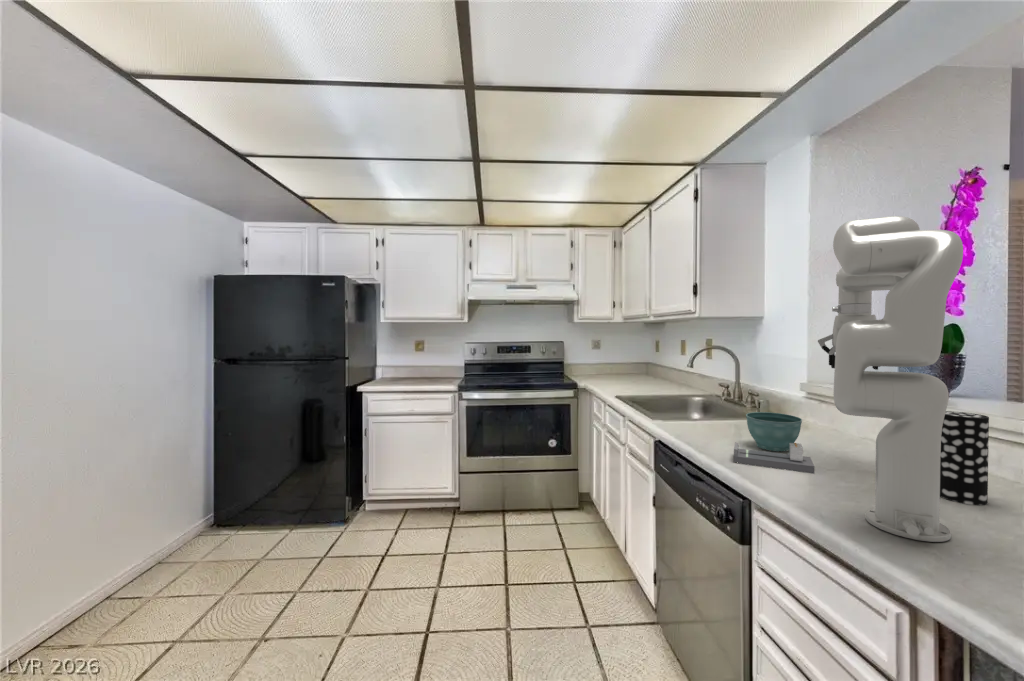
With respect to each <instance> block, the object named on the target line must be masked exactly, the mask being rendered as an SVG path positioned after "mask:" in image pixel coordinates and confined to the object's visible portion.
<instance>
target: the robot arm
mask: <svg viewBox="0 0 1024 681" xmlns="http://www.w3.org/2000/svg"><path fill="white" fill-rule="evenodd" d="M832 244H833V245H832V246H833V253H834V255H835V258H836V259H837V261H838V263H839V265H840V267H841V268H840V269H839V270H838V271H837V272H836V276H835V284H836V286H837V287H838V299H837V300H838V305H836V306H832V309H831V312H834V313H835V312H836V313H837V315H835V317H834V320H833V326H832V333H831V334H829V335H827V336H824V337H823V338H820V339H818V340H817V343H818V345H819V346H820V347H821V349H822V350H823V351H824V352H826V353H827V354H828V365H829V366H831V369H834V372H833V374H834V375H833V377H834V378H833V402H834V406H835V408H836V410H837V411H839V412H840V413H842V414H844V415H847V416H854V417H865V418H880V419H882V418H883V419H887V420H888V419H891V420H890V421H889V422H887V423H886V424H885V425H884V426H883V427H882V428H881V429H880V430H879V432H878V433H877V435H876V439H875V473H874V474H875V480H874V481H875V483H874V484H875V485H874V488H875V489H874V492H875V493H874V496H875V497H874V508H872V509H871V508H870V509H868V510H866V511H865V514H864V516H865V517H864V518H865V520H866V521H867V522H868V523H869V524H870V525H872V526H874V527H876V528H877V529H880V530H882V531H883V532H886V533H889V534H893V535H895V536H899V537H903V538H905V539H911V540H915V541H921V542H929V543H930V542H931V543H932V542H933V543H939V542H940V543H942V542H947V541H949V540H951V537H952V531H951V530H950V528H948V527H947V526H945V525H944V524H943V523H941V522H940V519H941V518H940V515H941V513H940V512H941V507H940V506H941V497H940V457H941V434H942V426H943V421H944V417H945V413H946V411H947V408H948V406H949V405H948V404H949V395H950V394H949V389H948V386H947V385H946V383H944V381H942V380H941V379H940V378H938V377H936V376H934V375H932V374H929V373H928V374H927V373H922V372H921V373H920V372H914V371H913V372H910V371H878V370H879V368H880V367H893V368H894V367H895V368H898V367H899V368H901V367H902V368H919V367H921V368H922V367H927V366H932V365H934V364H935V363H937V361H938V360H939V359H940V355H941V351H942V348H943V340H944V339H943V338H944V328H945V318H946V317H945V316H946V306H947V304H946V303H947V300H948V295H949V292H950V290H951V287H952V285H953V283H954V282H955V280H956V277H957V275H958V273H959V272H960V268H961V265H962V263H963V258H964V246H963V244H964V243H963V241H962V239H961V237H960V235H959V234H957V233H956V232H954V231H950V230H947V229H946V230H945V229H920V226H919V224H918V223H917V221H915V219H912V218H910V217H907V216H902V215H896V216H895V215H891V216H883V217H873V218H864V219H855V220H849V221H847V222H844V223H843V224H841V225H840V226H839V228H838V229H837V230H836V232H835V234H834V238H833V241H832ZM875 291H878V292H879V291H888V293H887V294H886V296H885V302H884V304H885V305H884V316H883V318H881V319H877V316H876V314H872V302H873V301H872V292H875ZM830 340H831V343H832V344H831V345H832V346H831V348H830V347H828V346H827V345H826V344H825V343H826V342H829V341H830ZM869 367H871V369H873V370H876V371H873V370H872V371H871V370H870V371H868V370H866V369H867V368H869Z"/></svg>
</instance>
